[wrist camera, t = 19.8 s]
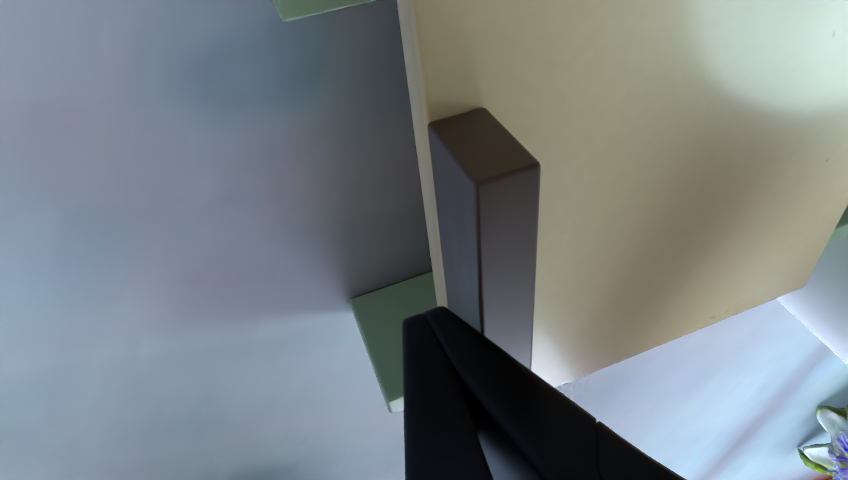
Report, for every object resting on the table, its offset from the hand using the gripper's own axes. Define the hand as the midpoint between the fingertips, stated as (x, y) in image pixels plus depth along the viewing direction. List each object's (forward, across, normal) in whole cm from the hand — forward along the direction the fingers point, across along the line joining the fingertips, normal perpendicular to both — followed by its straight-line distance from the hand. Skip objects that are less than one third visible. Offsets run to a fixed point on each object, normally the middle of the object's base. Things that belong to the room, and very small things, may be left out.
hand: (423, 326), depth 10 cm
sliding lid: (+2, -6, 0) cm, 7 cm away
